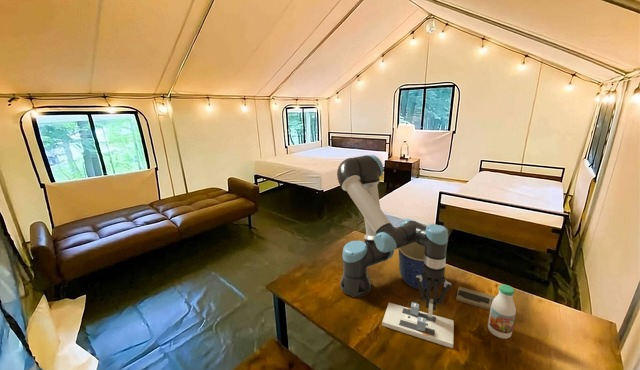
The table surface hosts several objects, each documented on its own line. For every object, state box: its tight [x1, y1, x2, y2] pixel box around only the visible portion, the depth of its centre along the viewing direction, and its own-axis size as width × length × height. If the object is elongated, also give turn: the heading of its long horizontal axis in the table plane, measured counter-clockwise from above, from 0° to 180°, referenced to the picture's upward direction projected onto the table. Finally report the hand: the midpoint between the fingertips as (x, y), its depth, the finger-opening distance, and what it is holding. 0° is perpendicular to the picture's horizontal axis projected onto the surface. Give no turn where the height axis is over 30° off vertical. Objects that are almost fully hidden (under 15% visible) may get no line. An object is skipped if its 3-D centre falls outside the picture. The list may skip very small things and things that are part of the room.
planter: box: [398, 242, 434, 290], centre depth 129 cm, size 21×21×19 cm
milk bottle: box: [487, 284, 517, 340], centre depth 99 cm, size 8×8×20 cm
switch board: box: [381, 302, 455, 349], centre depth 106 cm, size 26×12×2 cm, turn 63°
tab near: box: [417, 316, 426, 332], centre depth 101 cm, size 3×2×4 cm
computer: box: [455, 286, 496, 311], centre depth 117 cm, size 16×8×3 cm, turn 57°
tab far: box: [410, 301, 420, 316], centre depth 109 cm, size 3×2×4 cm
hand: (430, 314), depth 106 cm, fingers closed
